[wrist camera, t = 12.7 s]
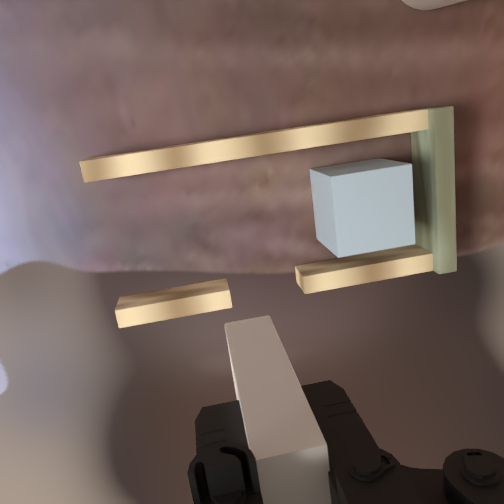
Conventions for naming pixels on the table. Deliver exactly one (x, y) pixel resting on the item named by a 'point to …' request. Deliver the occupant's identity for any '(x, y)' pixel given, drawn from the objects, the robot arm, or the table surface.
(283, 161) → the table surface
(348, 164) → the block
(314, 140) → the channel
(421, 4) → the coffee cup
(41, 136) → the table surface
